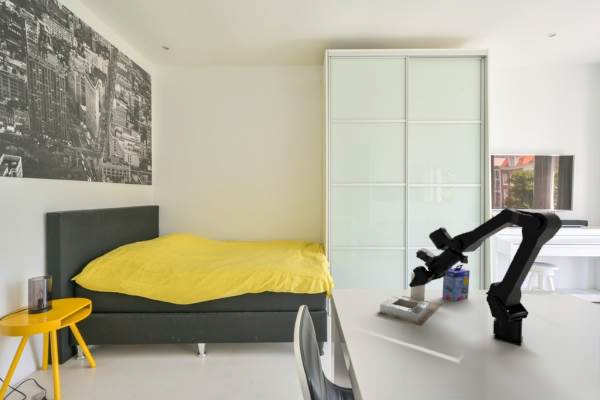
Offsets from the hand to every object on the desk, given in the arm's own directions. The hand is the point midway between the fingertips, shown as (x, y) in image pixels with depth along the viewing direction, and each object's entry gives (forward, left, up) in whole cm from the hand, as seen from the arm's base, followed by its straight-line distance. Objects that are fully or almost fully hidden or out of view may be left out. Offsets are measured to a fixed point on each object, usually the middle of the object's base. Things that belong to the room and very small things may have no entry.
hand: (415, 283), depth 119 cm
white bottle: (-1, 0, -7) cm, 7 cm away
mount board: (-1, +9, -8) cm, 12 cm away
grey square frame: (-1, +13, -7) cm, 15 cm away
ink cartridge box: (-11, -16, -8) cm, 21 cm away
